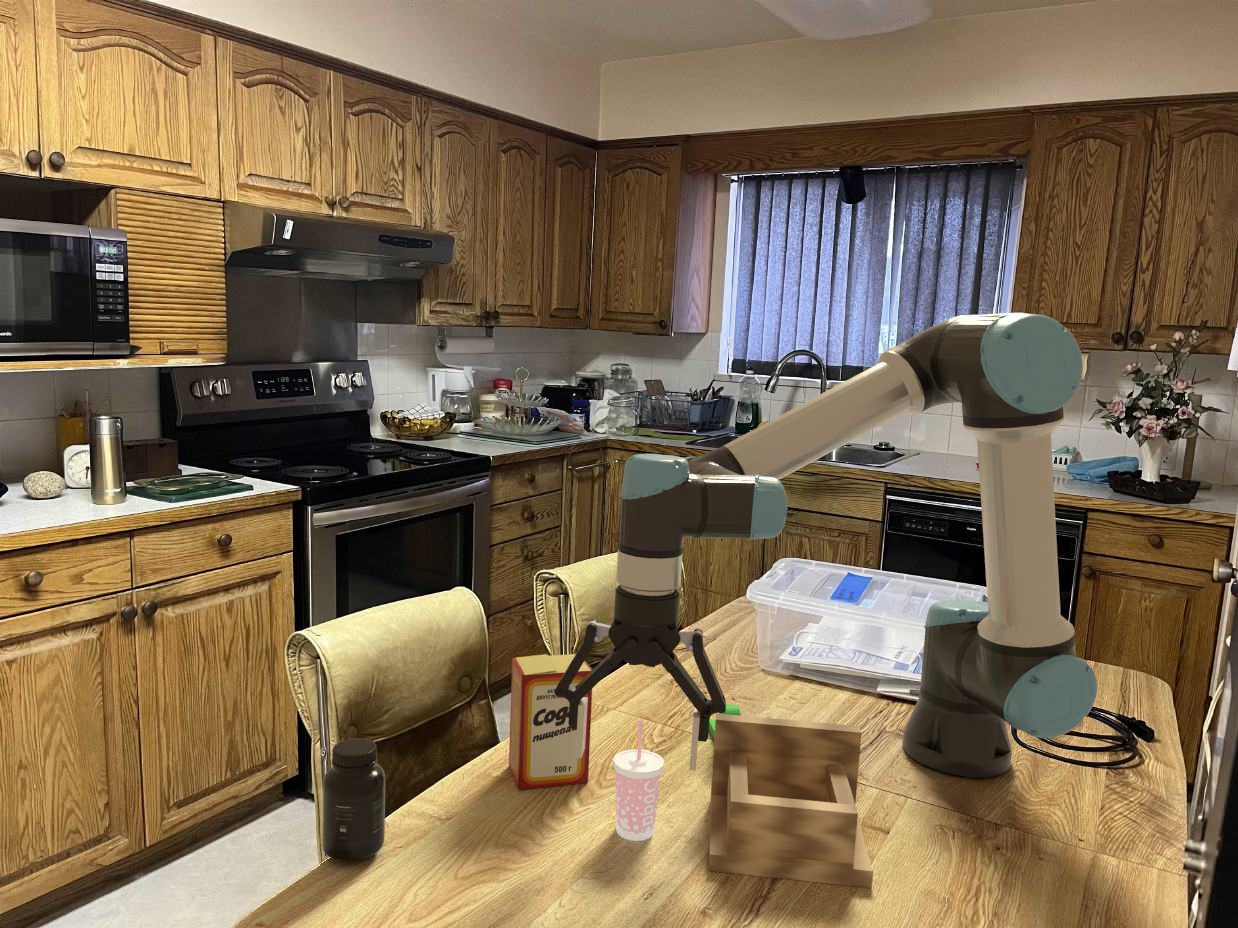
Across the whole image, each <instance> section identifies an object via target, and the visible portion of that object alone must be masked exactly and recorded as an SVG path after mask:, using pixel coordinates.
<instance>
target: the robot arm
mask: <svg viewBox="0 0 1238 928" xmlns="http://www.w3.org/2000/svg"><path fill="white" fill-rule="evenodd" d="M1083 364H1084V363H1083V355H1082V352H1081V349H1080V346H1079V344H1078V342H1077V340H1076V338H1075V336H1074V335H1073V334H1072V332H1071V331H1070V330H1069V329H1068V328H1067V327H1066V326H1065V325H1063V323H1061V322H1059V321H1058V320H1057V319H1054V318H1053V317H1049V316H1047V315H1044V314H1036V313H1034V314H1033V313H1026V312H1023V311H1021V312H1003V313H989V314H988V313H987V314H963V315H957V316H953V317H951V318H949V319H945V320H944V321H941V322H938V323H937V324H935V325H932V326H931V327H929V328H927V329H925V330H923V331H921V332H919V333H917V334H915V335H914V336H911V337H910V338H908V339H906V340H904V341H902V342H901V343H899V344H897V345H896V346H893V347H891V348H889V349H888V350H885V351H884V352H883V353H881V354H880V356H879V358H878V363H877V364H875V365H873V366H871V367H870V368H868V369H866V370H864V371H862V372H860V373H858V374H856V375H854V376H853V377H850V378H849V379H847V380H845V381H843V382H841V383H839V384H837V385H835V386H834V387H832V388H830V389H828V390H826V391H824V392H822V393H821V394H819V395H817V396H815V397H813V398H811V399H810V400H808V401H807V400H806V401H805V402H803V403H802V404H800V405H798V406H796V407H794V408H792V409H790V410H788V411H786V412H784V413H783V414H781V415H779V416H777V417H775V418H773V419H772V420H769V421H768V422H766V423H764V424H762V425H760V426H758V427H756V428H754V429H752V430H751V431H749V432H746V433H745V434H743V435H741V436H739V437H737V438H735V439H733V440H732V441H730V442H727V443H726V444H724V445H722V446H720V447H719V448H717V449H714V450H712V451H710V452H708V453H706V454H704V455H702V456H687V457H680V456H677V455H670V454H659V453H639V454H638V453H637V454H634V455H631V456H630V457H629V458H627V460H626V461H625V463H624V469H623V476H622V484H621V489H620V514H619V515H620V519H619V535H618V536H619V537H618V540H619V541H618V548H617V557H616V558H617V559H616V560H617V561H616V578H615V579H616V580H615V582H617V583H618V584H619V585H618V586H616V588H615V592H614V607H613V619H612V620H613V621H612V623H611V625H610V624H606V623H600V622H599V620H598V619H595V618H592V619H590V620H589V622H588V623H587V625H586V627H585V628H586V629H585V633H584V638H583V641H582V643H581V645H580V646H579V648H578V649H577V651H576V653H575V654H576V655H575V656H574V658H573V660H572V661H571V663H570V665H569V666H568V668H567V670H566V671H565V673H564V675H563V676H562V678H561V680H560V681H559V683H558V685H557V687H556V689H555V695H556V696H557V697H563V698H566V699H567V700H568V701H569V721H568V724H569V727H570V728H577V737H576V754H575V758H582V755H583V752H584V749H585V737H586V720H587V704H588V698H587V697H584V696H585V695H586V694H587V693H588V692H589V691H590V690H591V689H592V690H593V689H594V688H595V686H596V685H598V684H599V683H600V681H601V680H603V679H604V678H605V677H606V676H607V675H608V674H609V673H610V672H611V671H612V670H613V669H614V668H616V667H617V666H618V665H619V664H620V663H621V662H623V661H624V662H626V663H627V664H628V666H640V665H643V666H645V667H648V668H655V667H657V666H660V665H661V666H662V667H663V668H664V670H665V671H666V672H667V673H668V674H669V675H670V676H671V677H672V679H673V680H674V681H675V683H676V684H677V685H678V687H679V688H680V689H681V690H682V692H683V693H684V695H685V696H686V697H687V699H688V700H689V701H690V703H691V704H692V705H693V707H694V708H693V718H692V728H691V729H692V730H691V744H690V759H689V768H688V769H689V771H697V758H698V757H697V756H698V745H699V742H705V743H706V742H707V741H708V739H709V734H710V730H709V720H710V719H711V717H712V715H714V714H715V715H716V713H717V714H719V713H724V712H725V711H726V704H727V700H726V697H725V695H724V692H723V690H722V688H721V685H720V683H719V681H718V678H717V675H716V673H715V671H714V668H713V666H712V664H711V662H710V659H709V656H708V655H707V652H706V650H705V648H704V647H705V646H704V631H703V630H702V629H701V628H695V629H694V630H693V631H680V629H679V626H678V623H679V622H678V619H679V607H680V606H679V605H680V591H678V589H677V588H679V587H680V586H681V576H682V565H683V563H682V562H683V551H684V541H685V539H687V538H688V539H689V538H690V539H721V540H722V539H723V540H727V539H728V540H729V539H730V540H749V541H754V540H763V539H774V538H776V537H778V536H779V535H780V534H781V532H782V531H783V529H784V527H785V525H786V523H787V514H788V499H787V498H788V497H787V492H786V490H785V487H784V485H783V482H782V481H780V480H782V479H783V478H785V477H787V476H788V475H791V474H792V473H795V472H796V471H798V470H800V469H801V468H804V467H805V466H807V465H809V464H811V463H813V462H815V461H817V460H818V459H820V458H822V457H824V456H826V455H828V454H830V453H831V452H832V453H833V452H835V450H837V449H839V448H841V447H843V446H845V445H847V444H849V443H851V442H852V441H855V440H856V439H858V438H860V437H861V436H864V435H865V434H867V433H869V432H871V431H873V430H874V429H877V428H879V427H881V426H882V425H884V424H886V423H888V422H891V421H892V420H894V419H895V418H897V417H899V416H901V415H904V413H905V414H908V415H909V416H910V415H911V416H916V415H919V414H920V413H923V412H924V411H927V410H928V409H931V408H933V407H936V406H941V405H945V404H954V403H961V413H962V425H963V428H965V429H966V430H967V431H968V432H970V433H971V435H973V436H975V438H976V443H977V456H978V458H977V459H978V460H977V461H978V471H979V472H978V473H979V474H978V475H979V487H980V488H979V489H980V501H981V502H980V504H981V518H982V519H981V521H982V535H983V549H984V564H985V565H984V566H985V581H986V594H987V596H986V597H987V601H978V600H976V601H975V600H963V599H962V600H960V599H959V600H957V599H956V600H942V601H937V602H934V603H933V604H931V606H929V608H928V611H927V614H926V621H925V623H924V629H925V632H924V639H923V640H924V641H923V653H922V663H921V673H920V688H919V695H918V696H919V697H918V699H917V701H916V704H915V706H914V707H913V709H912V712H911V714H910V716H909V718H908V721H907V723H906V725H905V727H904V728H903V734H902V749H903V750H904V752H905V753H906V755H908V756H909V757H910V758H911V759H913V760H914V761H916V762H918V763H919V764H921V765H924V766H926V767H929V768H931V769H932V770H936V771H939V772H943V773H946V774H950V775H954V776H962V777H968V778H989V777H990V778H991V777H996V776H1000V775H1003V774H1005V773H1006V772H1007V771H1009V770H1010V768H1011V765H1012V756H1013V755H1012V754H1013V752H1012V745H1011V741H1010V736H1009V732H1008V728H1007V724H1008V725H1010V726H1011V727H1012V728H1013V729H1015V730H1018V731H1021V732H1024V733H1025V734H1027V735H1029V736H1031V737H1034V738H1038V739H1053V738H1057V737H1061V736H1064V735H1066V734H1067V733H1070V732H1071V731H1072V730H1074V729H1076V728H1077V727H1078V726H1079V725H1080V724H1081V723H1082V720H1083V719H1084V718H1085V717H1088V715H1089V713H1090V712H1091V710H1092V709H1093V706H1094V705H1095V703H1096V702H1095V701H1096V699H1097V693H1098V680H1097V676H1096V673H1095V670H1094V669H1093V668H1092V667H1091V665H1089V663H1088V662H1087V661H1086V660H1085V659H1083V657H1079V656H1077V654H1076V638H1075V629H1074V626H1073V624H1072V623H1071V622H1070V621H1069V620H1067V619H1066V618H1065V617H1064V616H1063V615H1061V599H1060V598H1061V597H1060V581H1059V564H1058V563H1059V562H1058V543H1057V542H1058V541H1057V526H1056V524H1057V523H1056V507H1055V506H1056V505H1055V503H1056V502H1055V489H1054V488H1055V487H1054V469H1053V468H1054V467H1053V450H1052V448H1053V447H1052V433H1053V432H1054V430H1056V428H1057V427H1058V426H1059V425H1060V424H1061V423H1062V422H1063V421H1064V419H1065V417H1064V406H1065V405H1066V404H1068V403H1069V402H1070V401H1071V400H1072V398H1073V397H1074V396H1075V394H1074V391H1075V390H1077V389H1079V387H1080V384H1081V381H1082V378H1083V377H1082V376H1083V368H1084V367H1083V366H1084V365H1083ZM606 636H607V637H608V639H609V640H610V641H611V643H612V644H613V646H614V647H613V648H612V649H611V651H610V652H609V653H608V654H607V655H606V656H605V657H604V658H603V659H602V660H601V661H599V662H598V664H597V665H596V666H595V667H593V668H592V671H591V672H590V673H589V674H588V675H587V676H586V677H585V678H584V679H583V680H582V681H581V682H580V683H579V684H578V685H577V686H576V687H575V686H574V687H573V686H571V685H570V684H571V682H572V681H573V679H574V677H575V676H576V674H577V672H578V671H579V669H580V667H581V666H582V664H583V662H584V661H586V659H587V658H588V656H589V654H590V652H591V651H592V648H593V647H594V644H595V643H600V642H601V641H602V640H603V638H604V637H606ZM680 643H683V644H684V646H685V648H686V650H687V651H689V652H692V656H693V660H694V661H695V664H696V666H697V669H698V671H699V673H700V676H701V679H702V680H703V683H704V685H705V688H706V690H707V692H708V695H709V697H710V699H708V697H706V694H704V692H703V691H702V690H701V689H700V687H699V686H698V684H697V683H696V682H695V681H694V679H693V678H692V677H691V675H690V674H689V672H688V671H687V669H686V668H685V666H683V665H682V663H681V661H680V660H679V658H678V656H677V655H676V653H675V652H674V650H675V649H676V648H677V646H679V644H680ZM1006 723H1007V724H1006Z"/></svg>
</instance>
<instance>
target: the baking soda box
mask: <svg viewBox="0 0 1238 928" xmlns="http://www.w3.org/2000/svg"><path fill="white" fill-rule="evenodd" d="M575 655H576V653H573V654H571V653H570V654H556V655H553V654H552V655H549V654H538V655H537V654H536V655H528V656H519V657H518V656H517V657H512V659H511V660H512V661H511V686H510V687H511V689H510V713H509V714H510V716H509V717H510V719H509V720H510V721H509V743H508V744H509V749H508V752H509V753H508V769H509V768H510V769H509V771H510V770H511V771H510V773H512V774H511V777H512V778H514V779H513V781H514V783H515V786H516V788H517V790H518V791H521V790H529V789H530V790H531V789H541V788H550V787H559V786H567V785H577V784H578V785H579V784H587V783H589V770H590V769H589V767H590V766H589V765H590V749H591V747H590V745H591V723H592V722H591V721H592V702H593V688H592V689H591V690H590V691H589V692H588V693H587V694H586V695H585V696H584V697H587V698H588V704H587V720H586V737H585V749H584V752H583V755H582V758H575V754H576V737H577V728H570V727H569V724H568V721H569V701H568V700H567V699H566V698H563V697H557V696H556V695H555V689H556V687H557V685H558V683H559V681H560V680H561V678H562V676H563V675H564V673H565V671H566V670H567V668H568V666H569V665H570V663H571V661H572V660H573V658H574V656H575ZM592 670H593V668H592V667H591V666H590V665H589V663H588V662H587V661H586V660H585V661H584V662H583V664H582V666H581V667H580V669H579V671H578V672H577V674H576V676H575V677H574V679H573V681H572V682H571V684H570V685H571V686H573V687H574V686H575V687H576V686H577V685H578V684H579V683H580V682H581V681H582V680H583V679H584V678H585V677H586V676H587V675H588V674H589V673H590V672H591V671H592Z"/></svg>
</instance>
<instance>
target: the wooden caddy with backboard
mask: <svg viewBox="0 0 1238 928" xmlns="http://www.w3.org/2000/svg"><path fill="white" fill-rule="evenodd" d="M715 719H716V722H715V737H714V738H713V755H712V767H711V768H712V771H711V773H712V774H711V785H710V786H711V787H710V799H709V800H710V802H709V804H710V805H709V807H710V810H709V840H708V841H709V845H708V871H709V872H717V873H727V874H735V875H745V876H756V877H764V878H772V879H773V878H774V879H783V880H790V881H791V880H793V881H801V882H812V883H818V884H819V883H822V884H831V885H839V886H840V885H841V886H850V887H858V888H867V889H872V887H873V877H874V869H873V866H872V862H871V859H870V855H869V852H868V850H867V845H866V842H865V837H864V833H863V831H862V828H861V824H860V821H859V816H858V815H859V812H858V809H857V807H856V801H857V790H858V777H859V767H860V754H861V743H862V742H861V741H862V730H861V727H860V725H851V724H842V723H841V724H840V723H831V722H830V723H828V722H817V721H808V720H807V721H806V720H795V719H785V718H771V717H761V716H760V717H758V716H751V715H750V716H748V715H741V716H740V715H728V714H719V713H715Z"/></svg>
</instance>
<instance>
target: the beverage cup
mask: <svg viewBox="0 0 1238 928" xmlns="http://www.w3.org/2000/svg"><path fill="white" fill-rule="evenodd" d="M643 724H644V720H643V719H639V720H638V731H637V733H638V735H637V749H626V750H624V751H623V750H622V751H619V752H618V753H617V754H615V755H614V757H613V760H612V762H613V769H614V772H615V773H614V775H615V776H614V777H615V779H614V780H615V782H614V783H615V831H616V833H617V835H619V836H620V837H621V838H623V839H625V840H627V841H634V842H636V841H637V842H638V841H639V842H640V841H645V840H648V839H650V838H652V837H653V836H654V834H655V833H654V832H655V826H656V818H657V810H658V801H659V792H660V785H661V776H662V775H661V774H662V773H663V771H664V765H665V760H664V759H663V757H662V756H661V755H659V754H657V752H652V751H650V750H646V749H642V748H643V747H642V744H643V743H642V741H643V727H644V726H643Z"/></svg>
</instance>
